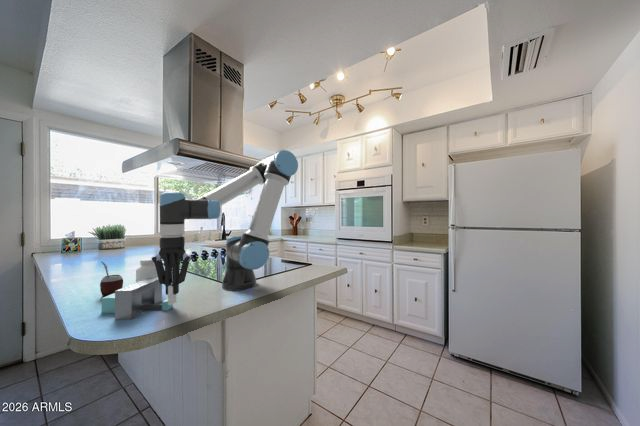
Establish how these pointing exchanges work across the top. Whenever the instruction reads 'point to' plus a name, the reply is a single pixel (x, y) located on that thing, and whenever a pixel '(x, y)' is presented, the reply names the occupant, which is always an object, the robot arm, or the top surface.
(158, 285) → the grey bridge block
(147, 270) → the pill bottle
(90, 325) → the top surface
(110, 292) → the mate gourd
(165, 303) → the teal and grey bar
